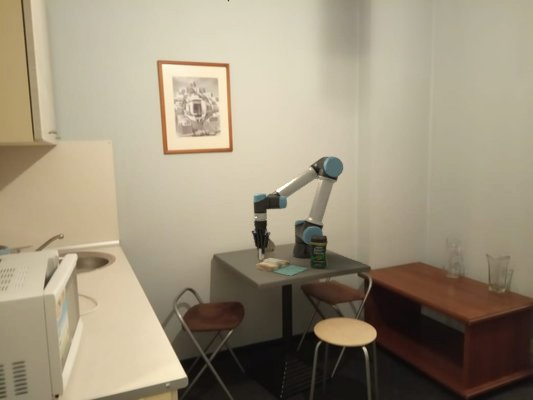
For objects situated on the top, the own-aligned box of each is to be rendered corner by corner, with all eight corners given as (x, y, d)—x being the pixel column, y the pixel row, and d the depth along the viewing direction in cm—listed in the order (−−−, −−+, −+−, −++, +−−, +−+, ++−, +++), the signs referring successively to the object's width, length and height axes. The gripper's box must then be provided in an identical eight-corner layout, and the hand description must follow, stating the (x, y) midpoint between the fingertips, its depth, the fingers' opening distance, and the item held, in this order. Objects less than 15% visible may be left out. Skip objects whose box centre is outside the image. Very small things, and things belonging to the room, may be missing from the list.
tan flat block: (273, 262, 243) (273, 258, 243) (289, 265, 236) (289, 261, 235) (256, 268, 231) (255, 264, 231) (272, 272, 223) (272, 267, 223)
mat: (289, 265, 235) (289, 264, 235) (307, 269, 227) (307, 268, 227) (272, 272, 223) (272, 271, 223) (290, 276, 215) (290, 275, 215)
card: (270, 260, 238) (270, 257, 238) (282, 262, 232) (282, 260, 232) (263, 262, 234) (263, 260, 234) (275, 265, 228) (275, 262, 228)
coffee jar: (309, 268, 228) (309, 236, 226) (312, 264, 236) (311, 233, 234) (326, 269, 225) (326, 237, 223) (328, 265, 233) (328, 234, 231)
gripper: (248, 219, 237) (249, 258, 240) (264, 221, 229) (265, 262, 231) (256, 218, 243) (257, 256, 246) (273, 219, 234) (274, 259, 237)
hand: (261, 259), depth 238 cm, fingers closed
